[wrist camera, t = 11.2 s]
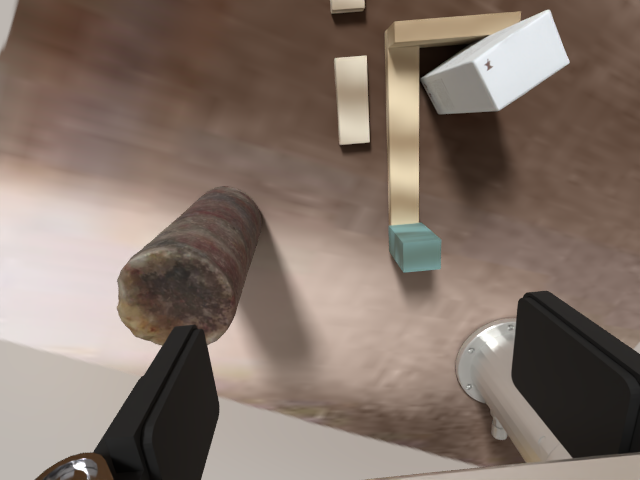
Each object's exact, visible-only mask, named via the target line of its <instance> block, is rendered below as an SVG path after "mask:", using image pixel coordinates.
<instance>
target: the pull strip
mask: <svg viewBox="0 0 640 480" xmlns="http://www.w3.org/2000/svg"><path fill="white" fill-rule="evenodd" d="M520 17H521V11H520V12H508V13H495V14H483V15H471V16H458V17H446V18H433V19H421V20H408V21H396V22H394V23H393V24H392V25H391V26H390V27H389V28H388V29H387V30H386V31H385V73H386V116H387V160H388V203H389V252H390V253H391V255H392V256H393V258H394V259H395V261H396V262H397V264H398V265H399V267H400V268H401V270H402V271H403V273H404V272H415V271H425V270H436V269H441V239H440V238H439V237H438V236H436V235H435V234H434V233H433V232H432V231H431V230H429V229H428V228H427V227H426V226H425V225H424V224H422V223H419V48H426V47H438V46H450V45H462V44H471V43H474V42H476V41H478V40H480V39H483V38H485V37H487V36H489V35H492V34H494V33H496V32H498V31H501V30H503V29H505V28H507V27H510V26H512V25H514V24H516V23H518V22H520Z"/></svg>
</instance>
